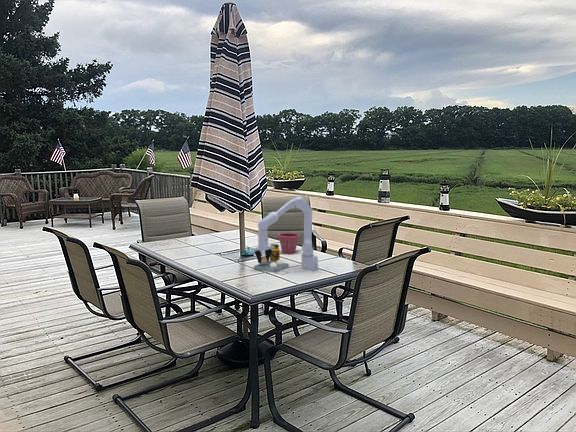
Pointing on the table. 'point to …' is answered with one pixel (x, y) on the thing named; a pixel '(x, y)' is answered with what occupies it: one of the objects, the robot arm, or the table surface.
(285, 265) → the egg tray
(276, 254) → the condiment
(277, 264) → the white egg near
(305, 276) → the table surface
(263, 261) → the brown egg
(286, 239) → the plant pot
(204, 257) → the table surface
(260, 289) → the table surface
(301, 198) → the robot arm
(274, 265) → the white egg left
